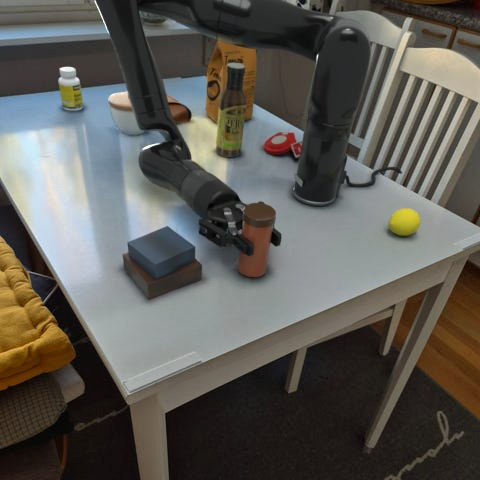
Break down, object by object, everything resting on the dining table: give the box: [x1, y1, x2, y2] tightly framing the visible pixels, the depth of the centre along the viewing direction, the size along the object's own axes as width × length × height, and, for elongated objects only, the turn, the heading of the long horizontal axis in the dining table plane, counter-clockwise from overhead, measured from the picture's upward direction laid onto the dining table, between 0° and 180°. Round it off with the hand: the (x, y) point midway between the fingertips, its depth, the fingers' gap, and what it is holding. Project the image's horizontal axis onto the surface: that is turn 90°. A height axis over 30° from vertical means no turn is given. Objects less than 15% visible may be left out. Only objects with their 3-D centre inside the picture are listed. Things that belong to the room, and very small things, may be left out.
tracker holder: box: [263, 131, 302, 160], centre depth 118 cm, size 12×4×10 cm
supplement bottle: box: [58, 66, 84, 112], centre depth 125 cm, size 5×5×10 cm
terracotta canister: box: [237, 202, 277, 278], centre depth 78 cm, size 5×5×11 cm
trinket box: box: [107, 91, 146, 136], centre depth 118 cm, size 11×11×9 cm
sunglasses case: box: [166, 93, 193, 125], centre depth 130 cm, size 18×7×7 cm, turn 38°
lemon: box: [388, 207, 421, 236], centre depth 93 cm, size 7×5×5 cm
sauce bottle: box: [215, 63, 246, 158], centre depth 109 cm, size 6×6×20 cm
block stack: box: [122, 225, 203, 300], centre depth 78 cm, size 10×9×6 cm
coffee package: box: [205, 39, 258, 124], centre depth 125 cm, size 10×12×22 cm
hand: (265, 246), depth 76 cm, fingers closed on terracotta canister, 5 cm apart
